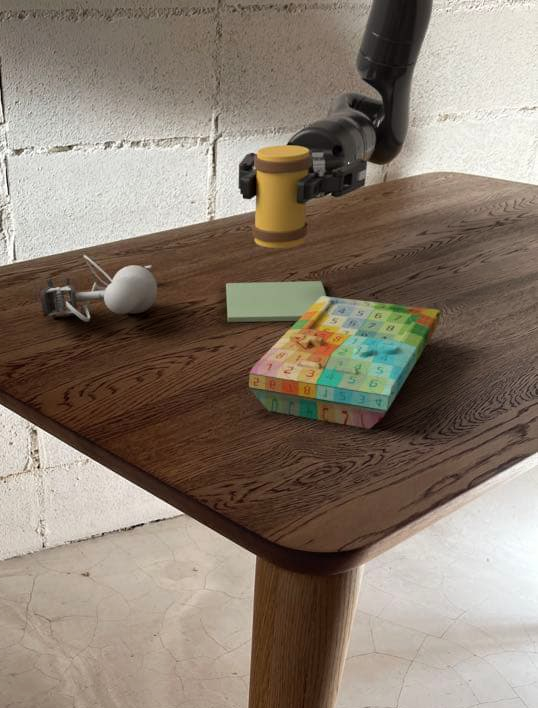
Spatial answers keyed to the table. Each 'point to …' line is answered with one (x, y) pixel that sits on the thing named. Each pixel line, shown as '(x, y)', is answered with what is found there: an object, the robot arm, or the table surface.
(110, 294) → the clip-on lamp
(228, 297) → the green mat
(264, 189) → the stacking piece
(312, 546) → the table surface
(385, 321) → the puzzle game
